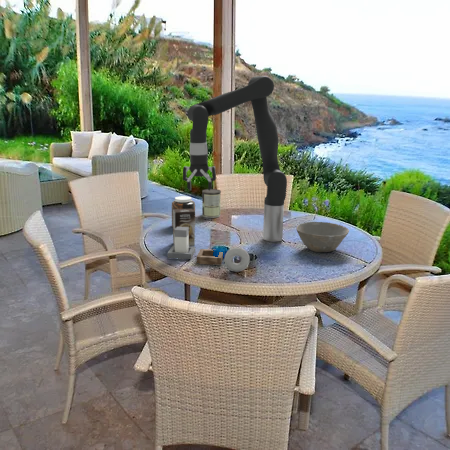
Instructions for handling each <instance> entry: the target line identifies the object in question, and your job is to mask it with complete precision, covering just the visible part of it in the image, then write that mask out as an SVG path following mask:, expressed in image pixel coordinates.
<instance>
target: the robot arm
mask: <svg viewBox="0 0 450 450" xmlns="http://www.w3.org/2000/svg"><path fill="white" fill-rule="evenodd" d="M274 89H275V83H274V81H273V79H272V78H271V77H269V76H267V75H257V76H256V75H255V76H253V77H251V78H250V80H249V81H248V83H247V85H246V86H243V87H241V88H239V89H235V90H230V91H228V92H225V93H221V94H220V95H219V94H218V95H217V96H215V97H212V98H211V99H208V100H206V101H205V100H204V101H201V102H198V103H196V104H192V105H191V106H190V107H189V108H188V110H187V111H186V112H187V114H186V116H187V118H188V119H189V120H190V121H191V122H192V126H191V127H192V128H191V129H190V130H189V163H190V165H189V166H187V165H184V166H183V167H182V180H183V181H185V182H186V183H187V186H186V187H187V189H188V191H192V179H193V178H194V177H195V178H196V177H198V178H199V177H200V178H202V177H204V178H205V179H206V180H207V181H208V183H207V184H208V185H207V186H208V188H207V189H208V190H211V189H213V181H216V180H217V173H216V172H217V171H216V166H214V165H213V166H209V164H208V163H209V161H208V160H209V158H208V157H209V155H208V154H209V152H208V144H207V138H208V137H207V131H208V126H209V125H208V123H209V117H211V116H216V115H220V114H222V113H225V112H227V111H228V110H232V109H233V108H236V107H237V106H239V105H242V104H245V103H248V102H250V103H251V107H252V110H253V116H254V117H253V118H254V123H255V130H256V138H257V141H258V142H257V143H258V148H259V151H260V152H259V153H260V156H261V157H260V158H261V161H262V162H261V163H262V175H263V183H264V184H265V187H266V196H265V197H264V202H263V203H264V205H263V228H262V229H263V231H262V240H263V241H266V242H274V243H275V242H283V235H284V234H283V233H284V232H283V231H284V214H285V213H284V212H285V211H284V209H285V201H286V198H287V186H288V179H287V175H286V174H285V173H284V172H283V171H281V169H280V164H279V161H278V160H279V159H278V150H279V133H278V127H277V124H276V122H275V119H274V117H273V114H272V112H271V111H270V109H269V106H268V97H269V96H271V95H272V93H273V92H274ZM188 171H190V172H191V174H190V175H189V177H187V175H188V173H187V172H188ZM209 171H210V172H211V173H212V177H211V176H210V175H209V173H208V172H209Z"/></svg>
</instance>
